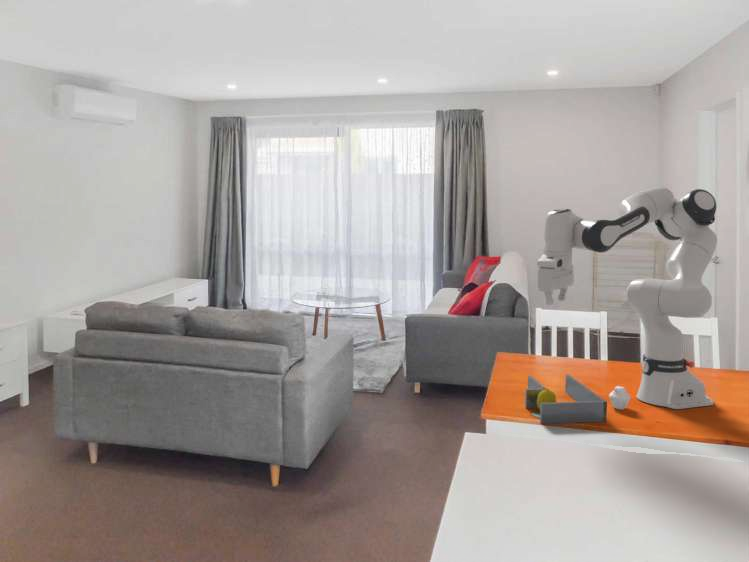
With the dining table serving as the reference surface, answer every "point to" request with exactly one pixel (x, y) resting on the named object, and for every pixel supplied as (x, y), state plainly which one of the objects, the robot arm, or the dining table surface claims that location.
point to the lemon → (545, 397)
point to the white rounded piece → (619, 397)
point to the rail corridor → (567, 404)
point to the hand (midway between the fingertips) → (555, 302)
